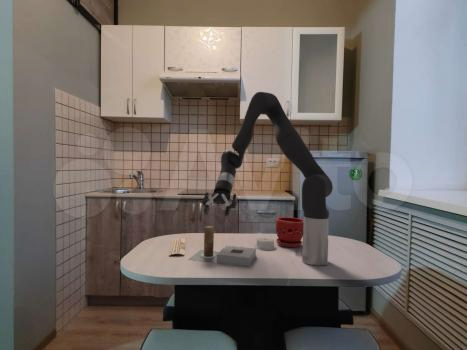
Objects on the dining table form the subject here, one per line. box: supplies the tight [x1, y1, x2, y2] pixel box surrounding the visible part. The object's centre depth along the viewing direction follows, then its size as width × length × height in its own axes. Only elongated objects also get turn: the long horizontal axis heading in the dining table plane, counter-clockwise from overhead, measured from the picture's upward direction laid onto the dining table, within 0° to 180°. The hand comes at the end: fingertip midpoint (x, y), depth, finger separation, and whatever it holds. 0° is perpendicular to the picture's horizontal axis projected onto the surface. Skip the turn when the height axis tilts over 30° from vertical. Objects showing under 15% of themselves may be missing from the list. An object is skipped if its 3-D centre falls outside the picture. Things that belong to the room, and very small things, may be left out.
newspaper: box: [168, 237, 186, 257], centre depth 126 cm, size 24×7×2 cm, turn 8°
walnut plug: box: [203, 225, 215, 257], centre depth 112 cm, size 4×4×11 cm
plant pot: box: [275, 216, 303, 248], centre depth 135 cm, size 13×13×12 cm
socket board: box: [187, 245, 257, 268], centre depth 111 cm, size 23×13×4 cm, turn 75°
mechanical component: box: [253, 237, 278, 251], centre depth 127 cm, size 10×4×10 cm
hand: (215, 214), depth 120 cm, fingers open, 8 cm apart
